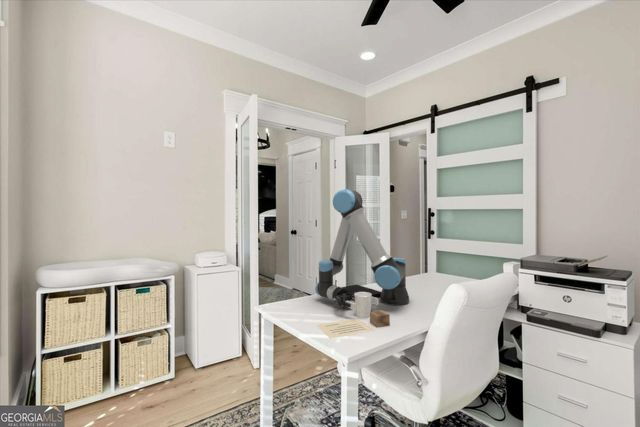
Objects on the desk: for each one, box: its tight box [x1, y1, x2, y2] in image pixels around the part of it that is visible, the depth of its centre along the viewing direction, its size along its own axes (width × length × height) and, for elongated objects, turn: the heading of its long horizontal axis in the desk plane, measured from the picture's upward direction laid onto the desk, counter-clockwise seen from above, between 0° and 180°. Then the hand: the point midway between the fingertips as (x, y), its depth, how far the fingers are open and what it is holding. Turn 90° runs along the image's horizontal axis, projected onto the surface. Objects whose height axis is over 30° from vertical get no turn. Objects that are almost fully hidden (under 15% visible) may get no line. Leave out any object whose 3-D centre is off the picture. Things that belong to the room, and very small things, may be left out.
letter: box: [316, 317, 377, 339], centre depth 129 cm, size 20×15×1 cm
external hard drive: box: [340, 284, 381, 300], centre depth 178 cm, size 14×23×3 cm, turn 34°
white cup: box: [354, 292, 372, 319], centre depth 143 cm, size 8×8×10 cm
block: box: [369, 309, 391, 328], centre depth 132 cm, size 6×6×5 cm
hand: (367, 304), depth 141 cm, fingers open, 13 cm apart
